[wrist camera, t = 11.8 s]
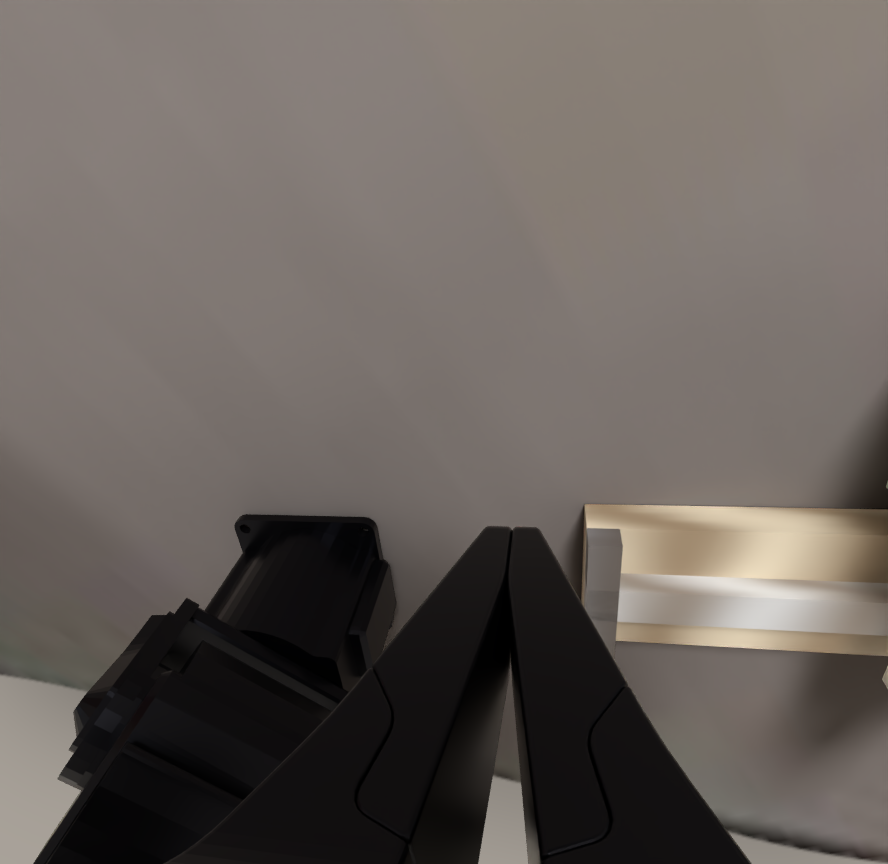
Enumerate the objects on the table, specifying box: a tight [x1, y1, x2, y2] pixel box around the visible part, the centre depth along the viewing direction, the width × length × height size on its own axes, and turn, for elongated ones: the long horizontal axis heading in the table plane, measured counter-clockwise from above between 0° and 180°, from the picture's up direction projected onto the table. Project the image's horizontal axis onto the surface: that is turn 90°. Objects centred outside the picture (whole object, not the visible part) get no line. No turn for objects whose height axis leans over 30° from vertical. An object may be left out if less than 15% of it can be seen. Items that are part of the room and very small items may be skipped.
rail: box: [581, 504, 888, 658], centre depth 22 cm, size 18×6×2 cm, turn 95°
